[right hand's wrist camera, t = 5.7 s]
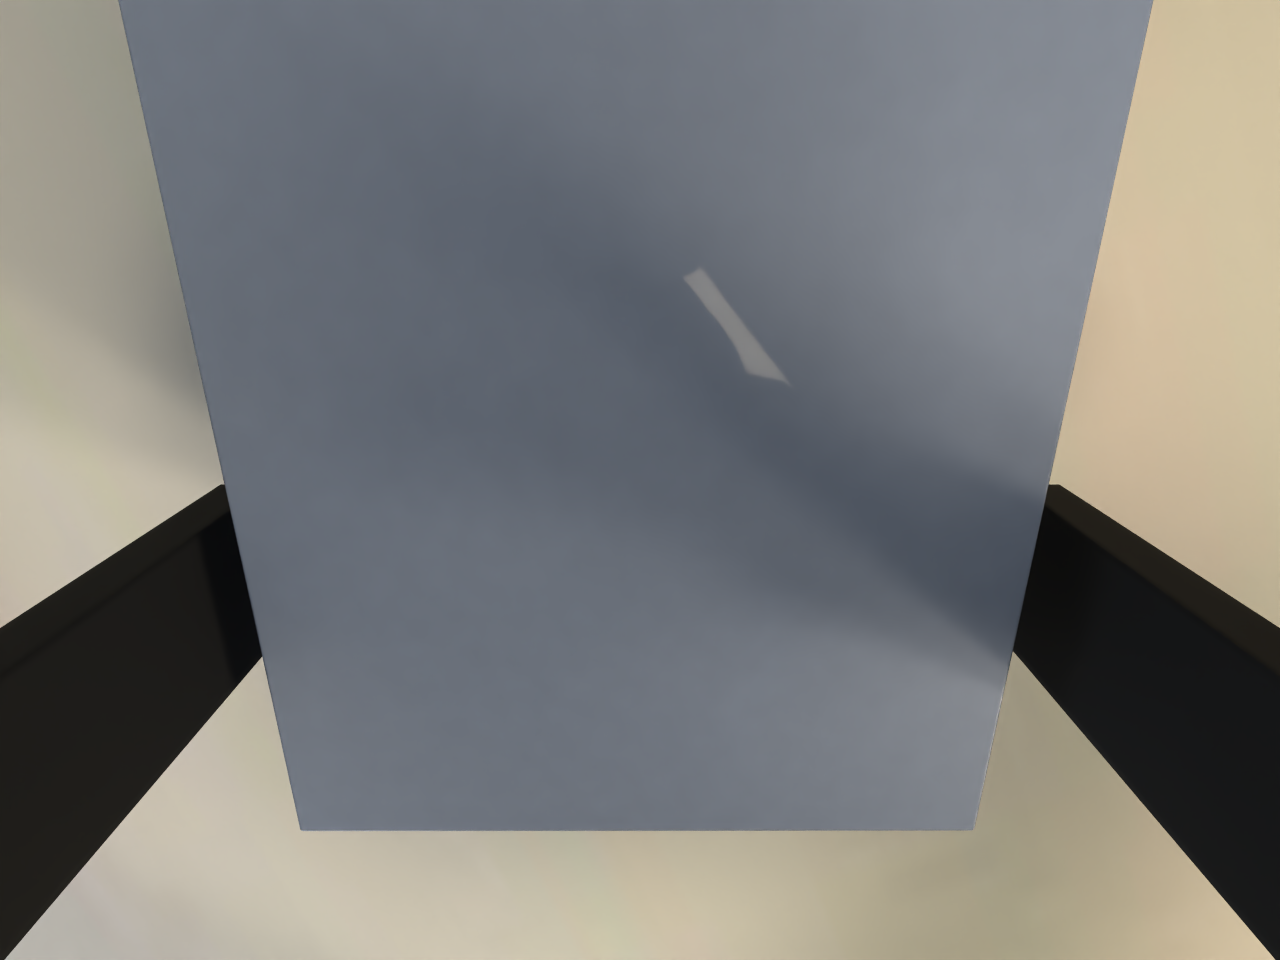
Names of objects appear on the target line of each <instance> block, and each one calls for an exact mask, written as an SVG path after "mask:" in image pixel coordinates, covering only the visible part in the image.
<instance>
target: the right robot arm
mask: <svg viewBox="0 0 1280 960" xmlns="http://www.w3.org/2000/svg"><path fill="white" fill-rule="evenodd" d="M1013 651H1014V652H1015V654H1016V655H1017V656H1018V657H1019V658H1020V660H1021V661H1022V662H1023V663H1024V664H1025V665H1026V667H1027V668H1028V669H1029V670H1030V671H1031V672H1032V674H1033V675H1034V676H1035V677H1036V678H1037V680H1038V681H1039V682H1040V683H1041V684H1042V685H1043V687H1044V688H1045V689H1046V690H1047V691H1048V692H1049V694H1050V695H1051V696H1052V697H1053V698H1054V700H1055V701H1056V702H1057V703H1058V704H1059V705H1060V707H1061V708H1062V709H1063V710H1064V711H1065V712H1066V714H1067V715H1068V716H1069V717H1070V718H1071V720H1072V721H1073V722H1074V723H1075V724H1076V725H1077V727H1078V728H1079V729H1080V730H1081V731H1082V732H1083V734H1084V735H1085V736H1086V737H1087V738H1088V740H1089V741H1090V742H1091V743H1092V744H1093V745H1094V747H1095V748H1096V749H1097V750H1098V751H1099V752H1100V754H1101V755H1102V756H1103V757H1104V758H1105V760H1106V761H1107V762H1108V763H1109V764H1110V765H1111V767H1112V768H1113V769H1114V770H1115V771H1116V772H1117V774H1118V775H1119V776H1120V777H1121V778H1122V780H1123V781H1124V782H1125V783H1126V784H1127V785H1128V787H1129V788H1130V789H1131V790H1132V791H1133V792H1134V794H1135V795H1136V796H1137V797H1138V798H1139V800H1140V801H1141V802H1142V803H1143V804H1144V805H1145V807H1146V808H1147V809H1148V810H1149V811H1150V812H1151V814H1152V815H1153V816H1154V817H1155V818H1156V820H1157V821H1158V822H1159V823H1160V824H1161V825H1162V827H1163V828H1164V829H1165V830H1166V831H1167V832H1168V834H1169V835H1170V836H1171V837H1172V838H1173V840H1174V841H1175V842H1176V843H1177V844H1178V845H1179V847H1180V848H1181V849H1182V850H1183V851H1184V852H1185V854H1186V855H1187V856H1188V857H1189V858H1190V860H1191V861H1192V862H1193V863H1194V864H1195V865H1196V867H1197V868H1198V869H1199V870H1200V871H1201V872H1202V874H1203V875H1204V876H1205V877H1206V878H1207V880H1208V881H1209V882H1210V883H1211V884H1212V885H1213V887H1214V888H1215V889H1216V890H1217V891H1218V892H1219V894H1220V895H1221V896H1222V897H1223V898H1224V900H1225V901H1226V902H1227V903H1228V904H1229V905H1230V907H1231V908H1232V909H1233V910H1234V911H1235V912H1236V914H1237V915H1238V916H1239V917H1240V918H1241V920H1242V921H1243V922H1244V923H1245V924H1246V925H1247V927H1248V928H1249V929H1250V930H1251V931H1252V932H1253V934H1254V935H1255V936H1256V937H1257V938H1258V940H1259V941H1260V942H1261V943H1262V944H1263V945H1264V947H1265V948H1266V949H1267V950H1268V951H1269V952H1270V954H1271V955H1272V956H1273V957H1274V958H1275V960H1280V628H1279V627H1277V626H1276V625H1274V624H1273V623H1271V622H1270V621H1268V620H1267V619H1265V618H1263V617H1262V616H1260V615H1259V614H1257V613H1256V612H1254V611H1253V610H1251V609H1250V608H1248V607H1247V606H1245V605H1243V604H1242V603H1240V602H1239V601H1237V600H1236V599H1234V598H1233V597H1231V596H1230V595H1228V594H1227V593H1225V592H1223V591H1222V590H1220V589H1219V588H1217V587H1216V586H1214V585H1213V584H1211V583H1210V582H1208V581H1207V580H1205V579H1203V578H1202V577H1200V576H1199V575H1197V574H1196V573H1194V572H1193V571H1191V570H1190V569H1188V568H1187V567H1185V566H1184V565H1182V564H1180V563H1179V562H1177V561H1176V560H1174V559H1173V558H1171V557H1170V556H1168V555H1167V554H1165V553H1164V552H1162V551H1160V550H1159V549H1157V548H1156V547H1154V546H1153V545H1151V544H1150V543H1148V542H1147V541H1145V540H1144V539H1142V538H1140V537H1139V536H1137V535H1136V534H1134V533H1133V532H1131V531H1130V530H1128V529H1127V528H1125V527H1124V526H1122V525H1120V524H1119V523H1117V522H1116V521H1114V520H1113V519H1111V518H1110V517H1108V516H1107V515H1105V514H1104V513H1102V512H1101V511H1099V510H1097V509H1096V508H1094V507H1093V506H1091V505H1090V504H1088V503H1087V502H1085V501H1084V500H1082V499H1081V498H1079V497H1077V496H1076V495H1074V494H1073V493H1071V492H1070V491H1068V490H1067V489H1065V488H1064V487H1062V486H1061V485H1048V490H1047V494H1046V499H1045V503H1044V508H1043V513H1042V517H1041V522H1040V527H1039V531H1038V536H1037V540H1036V545H1035V550H1034V554H1033V559H1032V564H1031V568H1030V573H1029V577H1028V582H1027V587H1026V591H1025V596H1024V601H1023V605H1022V610H1021V614H1020V619H1019V624H1018V628H1017V633H1016V638H1015V642H1014V647H1013ZM261 657H262V652H261V647H260V643H259V638H258V634H257V629H256V625H255V620H254V615H253V611H252V606H251V602H250V597H249V593H248V588H247V584H246V579H245V574H244V570H243V565H242V561H241V556H240V552H239V547H238V543H237V538H236V533H235V529H234V524H233V520H232V515H231V511H230V506H229V502H228V497H227V493H226V488H225V485H219V486H218V487H216V488H215V489H213V490H212V491H210V492H209V493H207V494H206V495H204V496H203V497H201V498H199V499H198V500H196V501H195V502H193V503H192V504H190V505H189V506H187V507H186V508H184V509H183V510H181V511H179V512H178V513H176V514H175V515H173V516H172V517H170V518H169V519H167V520H166V521H164V522H163V523H161V524H160V525H158V526H156V527H155V528H153V529H152V530H150V531H149V532H147V533H146V534H144V535H143V536H141V537H140V538H138V539H136V540H135V541H133V542H132V543H130V544H129V545H127V546H126V547H124V548H123V549H121V550H120V551H118V552H116V553H115V554H113V555H112V556H110V557H109V558H107V559H106V560H104V561H103V562H101V563H100V564H98V565H96V566H95V567H93V568H92V569H90V570H89V571H87V572H86V573H84V574H83V575H81V576H80V577H78V578H77V579H75V580H73V581H72V582H70V583H69V584H67V585H66V586H64V587H63V588H61V589H60V590H58V591H57V592H55V593H53V594H52V595H50V596H49V597H47V598H46V599H44V600H43V601H41V602H40V603H38V604H37V605H35V606H33V607H32V608H30V609H29V610H27V611H26V612H24V613H23V614H21V615H20V616H18V617H17V618H15V619H13V620H12V621H10V622H9V623H7V624H6V625H4V626H3V627H1V628H0V960H5V958H6V957H7V956H8V955H9V954H10V952H11V951H12V950H13V949H14V948H15V947H16V945H17V944H18V943H19V942H20V941H21V940H22V938H23V937H24V936H25V935H26V934H27V932H28V931H29V930H30V929H31V928H32V927H33V925H34V924H35V923H36V922H37V921H38V920H39V918H40V917H41V916H42V915H43V914H44V912H45V911H46V910H47V909H48V908H49V907H50V905H51V904H52V903H53V902H54V901H55V900H56V898H57V897H58V896H59V895H60V894H61V892H62V891H63V890H64V889H65V888H66V887H67V885H68V884H69V883H70V882H71V881H72V880H73V878H74V877H75V876H76V875H77V874H78V872H79V871H80V870H81V869H82V868H83V867H84V865H85V864H86V863H87V862H88V861H89V860H90V858H91V857H92V856H93V855H94V854H95V852H96V851H97V850H98V849H99V848H100V847H101V845H102V844H103V843H104V842H105V841H106V840H107V838H108V837H109V836H110V835H111V834H112V832H113V831H114V830H115V829H116V828H117V827H118V825H119V824H120V823H121V822H122V821H123V820H124V818H125V817H126V816H127V815H128V814H129V812H130V811H131V810H132V809H133V808H134V807H135V805H136V804H137V803H138V802H139V801H140V800H141V798H142V797H143V796H144V795H145V794H146V792H147V791H148V790H149V789H150V788H151V787H152V785H153V784H154V783H155V782H156V781H157V780H158V778H159V777H160V776H161V775H162V774H163V772H164V771H165V770H166V769H167V768H168V767H169V765H170V764H171V763H172V762H173V761H174V760H175V758H176V757H177V756H178V755H179V754H180V752H181V751H182V750H183V749H184V748H185V747H186V745H187V744H188V743H189V742H190V741H191V740H192V738H193V737H194V736H195V735H196V734H197V732H198V731H199V730H200V729H201V728H202V727H203V725H204V724H205V723H206V722H207V721H208V720H209V718H210V717H211V716H212V715H213V714H214V712H215V711H216V710H217V709H218V708H219V707H220V705H221V704H222V703H223V702H224V701H225V700H226V698H227V697H228V696H229V695H230V694H231V692H232V691H233V690H234V689H235V688H236V687H237V685H238V684H239V683H240V682H241V681H242V680H243V678H244V677H245V676H246V675H247V674H248V672H249V671H250V670H251V669H252V668H253V667H254V665H255V664H256V663H257V662H258V661H259V660H260V658H261Z"/></svg>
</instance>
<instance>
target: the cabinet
mask: <svg viewBox="0 0 1280 960" xmlns="http://www.w3.org/2000/svg"><path fill="white" fill-rule="evenodd" d="M118 1H119V5H120V10H121V14H122V19H123V23H124V28H125V33H126V37H127V42H128V46H129V51H130V55H131V60H132V64H133V69H134V74H135V78H136V83H137V87H138V92H139V96H140V101H141V105H142V110H143V115H144V119H145V124H146V128H147V133H148V137H149V142H150V146H151V151H152V156H153V160H154V165H155V169H156V174H157V178H158V183H159V187H160V192H161V197H162V201H163V206H164V210H165V215H166V219H167V224H168V228H169V233H170V237H171V242H172V247H173V251H174V256H175V260H176V265H177V269H178V274H179V278H180V283H181V288H182V292H183V297H184V301H185V306H186V310H187V315H188V319H189V324H190V329H191V333H192V338H193V342H194V347H195V351H196V356H197V360H198V365H199V370H200V374H201V379H202V383H203V388H204V392H205V397H206V401H207V406H208V411H209V415H210V420H211V424H212V429H213V433H214V438H215V442H216V447H217V452H218V456H219V461H220V465H221V470H222V474H223V479H224V483H225V488H226V493H227V497H228V502H229V506H230V511H231V515H232V520H233V524H234V529H235V533H236V538H237V543H238V547H239V552H240V556H241V561H242V565H243V570H244V574H245V579H246V584H247V588H248V593H249V597H250V602H251V606H252V611H253V615H254V620H255V625H256V629H257V634H258V638H259V643H260V647H261V652H262V656H263V661H264V666H265V670H266V675H267V679H268V684H269V688H270V693H271V697H272V702H273V707H274V711H275V716H276V720H277V725H278V729H279V734H280V738H281V743H282V748H283V752H284V757H285V761H286V766H287V770H288V775H289V779H290V784H291V788H292V793H293V798H294V802H295V807H296V811H297V816H298V820H299V825H300V829H301V830H302V831H797V830H974V827H975V823H976V818H977V814H978V809H979V804H980V800H981V795H982V790H983V786H984V781H985V777H986V772H987V767H988V763H989V758H990V753H991V749H992V744H993V739H994V735H995V730H996V726H997V721H998V716H999V712H1000V707H1001V702H1002V698H1003V693H1004V689H1005V684H1006V679H1007V675H1008V670H1009V665H1010V661H1011V656H1012V652H1013V647H1014V642H1015V638H1016V633H1017V628H1018V624H1019V619H1020V614H1021V610H1022V605H1023V601H1024V596H1025V591H1026V587H1027V582H1028V577H1029V573H1030V568H1031V564H1032V559H1033V554H1034V550H1035V545H1036V540H1037V536H1038V531H1039V527H1040V522H1041V517H1042V513H1043V508H1044V503H1045V499H1046V494H1047V490H1048V485H1049V480H1050V476H1051V471H1052V466H1053V462H1054V457H1055V452H1056V448H1057V443H1058V439H1059V434H1060V429H1061V425H1062V420H1063V415H1064V411H1065V406H1066V402H1067V397H1068V392H1069V388H1070V383H1071V378H1072V374H1073V369H1074V365H1075V360H1076V355H1077V351H1078V346H1079V341H1080V337H1081V332H1082V327H1083V323H1084V318H1085V314H1086V309H1087V304H1088V300H1089V295H1090V290H1091V286H1092V281H1093V277H1094V272H1095V267H1096V263H1097V258H1098V253H1099V249H1100V244H1101V240H1102V235H1103V230H1104V226H1105V221H1106V216H1107V212H1108V207H1109V203H1110V198H1111V193H1112V189H1113V184H1114V179H1115V175H1116V170H1117V165H1118V161H1119V156H1120V152H1121V147H1122V142H1123V138H1124V133H1125V128H1126V124H1127V119H1128V115H1129V110H1130V105H1131V101H1132V96H1133V91H1134V87H1135V82H1136V78H1137V73H1138V68H1139V64H1140V59H1141V54H1142V50H1143V45H1144V40H1145V36H1146V31H1147V27H1148V22H1149V17H1150V13H1151V8H1152V3H1153V0H118Z"/></svg>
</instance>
